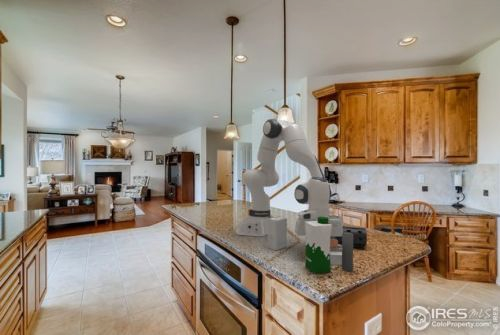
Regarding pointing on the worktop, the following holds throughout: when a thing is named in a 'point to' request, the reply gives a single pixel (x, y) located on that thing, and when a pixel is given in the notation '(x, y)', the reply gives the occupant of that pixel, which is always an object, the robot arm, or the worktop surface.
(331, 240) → the block
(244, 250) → the worktop surface
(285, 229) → the skincare box
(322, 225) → the soya milk
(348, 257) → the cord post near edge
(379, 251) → the worktop surface
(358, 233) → the muzzle brake
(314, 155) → the robot arm
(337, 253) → the panel
